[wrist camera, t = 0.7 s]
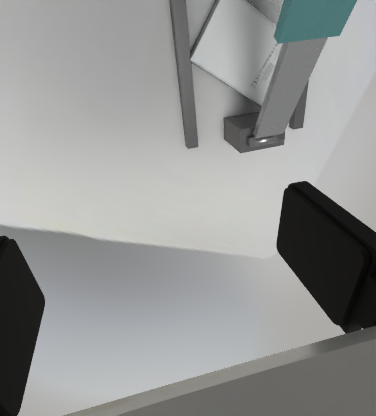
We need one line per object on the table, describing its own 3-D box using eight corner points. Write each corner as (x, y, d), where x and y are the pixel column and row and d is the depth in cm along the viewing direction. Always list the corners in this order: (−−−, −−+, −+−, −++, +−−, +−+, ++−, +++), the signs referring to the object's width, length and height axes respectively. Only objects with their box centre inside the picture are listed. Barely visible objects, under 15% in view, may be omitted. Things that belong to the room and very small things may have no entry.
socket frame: (163, -53, 28) (181, -84, 21) (319, -65, 31) (382, -96, 23) (185, 146, 39) (202, 169, 32) (298, 125, 42) (336, 143, 35)
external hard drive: (222, -14, 31) (298, 49, 36) (187, 59, 34) (262, 107, 39) (227, -17, 29) (305, 49, 35) (190, 60, 32) (267, 110, 38)
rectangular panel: (294, -40, 19) (302, -32, 18) (367, -47, 19) (377, -39, 19) (241, 143, 35) (245, 150, 34) (283, 135, 35) (286, 142, 35)
